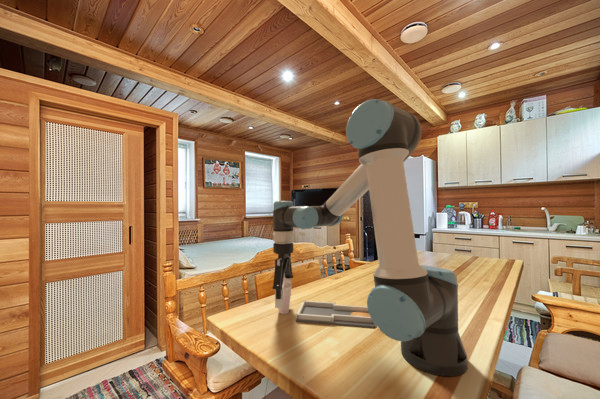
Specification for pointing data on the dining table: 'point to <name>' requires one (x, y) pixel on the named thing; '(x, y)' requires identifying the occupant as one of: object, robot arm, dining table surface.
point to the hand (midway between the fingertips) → (283, 301)
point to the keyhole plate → (334, 314)
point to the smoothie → (285, 297)
